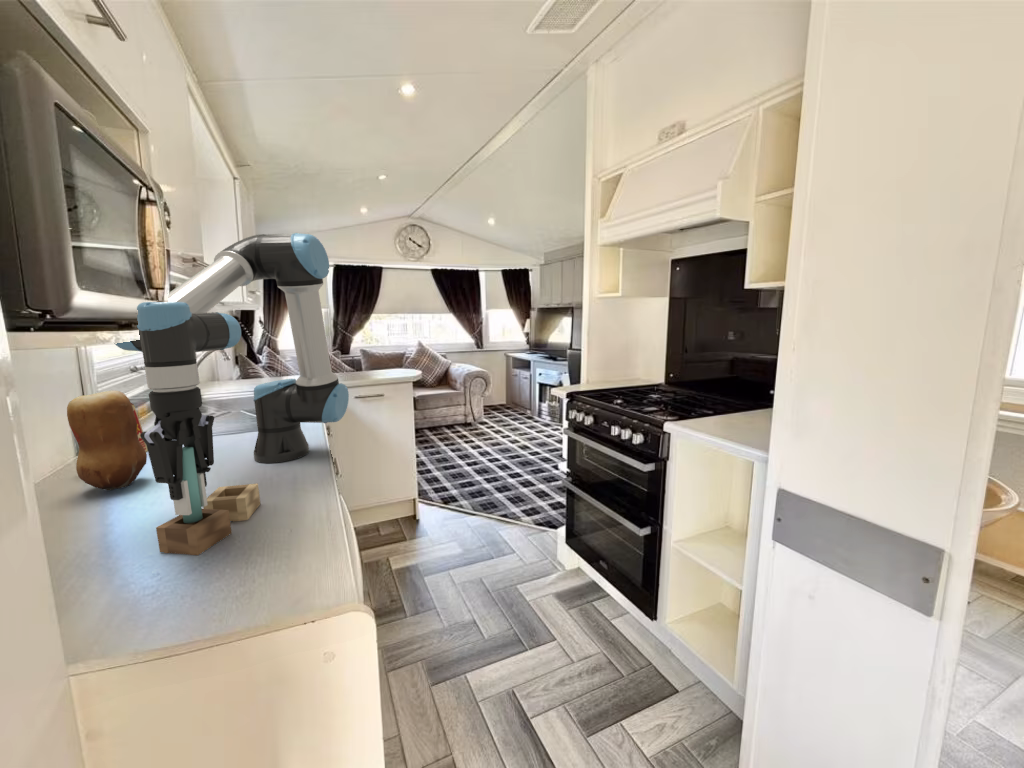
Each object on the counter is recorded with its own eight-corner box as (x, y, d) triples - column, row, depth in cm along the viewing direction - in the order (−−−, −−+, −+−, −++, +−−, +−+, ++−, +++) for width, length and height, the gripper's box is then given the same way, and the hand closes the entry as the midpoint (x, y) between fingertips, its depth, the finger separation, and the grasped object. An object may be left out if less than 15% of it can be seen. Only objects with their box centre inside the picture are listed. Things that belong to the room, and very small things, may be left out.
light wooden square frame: (221, 507, 100) (219, 486, 99) (260, 504, 101) (257, 483, 101) (205, 524, 92) (202, 501, 91) (247, 519, 94) (245, 497, 93)
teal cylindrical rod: (193, 515, 85) (183, 446, 83) (206, 516, 85) (197, 446, 83) (179, 522, 83) (168, 451, 80) (193, 523, 82) (183, 451, 80)
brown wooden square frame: (196, 531, 89) (192, 508, 88) (231, 533, 88) (228, 510, 87) (160, 552, 81) (155, 527, 80) (198, 555, 80) (194, 529, 79)
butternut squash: (81, 488, 112) (62, 392, 108) (148, 473, 121) (134, 384, 117) (81, 504, 102) (61, 399, 98) (154, 487, 112) (139, 391, 107)
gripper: (193, 381, 88) (208, 491, 92) (111, 396, 72) (133, 529, 76) (227, 381, 87) (240, 493, 91) (151, 397, 71) (172, 531, 75)
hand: (191, 509), depth 83 cm, fingers closed on teal cylindrical rod, 3 cm apart
